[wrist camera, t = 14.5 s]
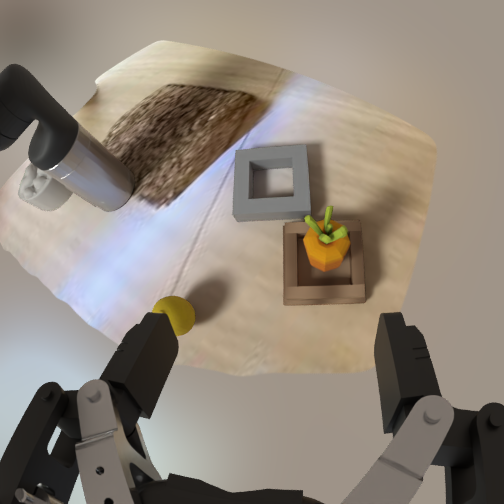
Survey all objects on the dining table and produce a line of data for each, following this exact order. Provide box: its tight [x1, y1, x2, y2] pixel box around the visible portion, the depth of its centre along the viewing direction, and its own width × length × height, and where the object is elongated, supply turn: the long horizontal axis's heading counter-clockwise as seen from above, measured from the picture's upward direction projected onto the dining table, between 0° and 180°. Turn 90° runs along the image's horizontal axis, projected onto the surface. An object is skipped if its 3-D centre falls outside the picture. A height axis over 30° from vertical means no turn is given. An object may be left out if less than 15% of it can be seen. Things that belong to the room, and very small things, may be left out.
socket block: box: [232, 145, 311, 222], centre depth 45 cm, size 11×11×3 cm
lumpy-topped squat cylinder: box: [18, 163, 73, 211], centre depth 54 cm, size 10×13×9 cm
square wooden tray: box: [283, 220, 366, 305], centre depth 40 cm, size 11×11×4 cm
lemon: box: [152, 296, 195, 336], centre depth 40 cm, size 6×6×8 cm
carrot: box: [303, 206, 351, 272], centre depth 33 cm, size 5×5×15 cm
